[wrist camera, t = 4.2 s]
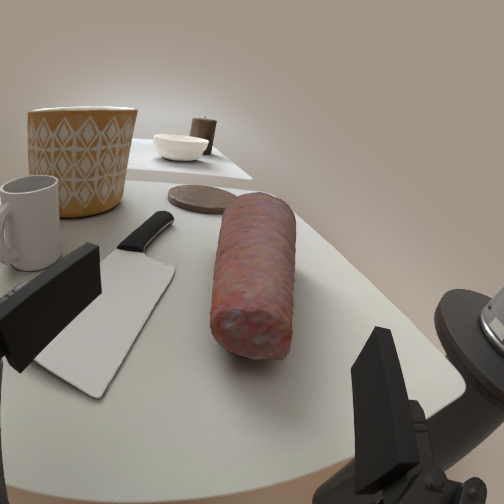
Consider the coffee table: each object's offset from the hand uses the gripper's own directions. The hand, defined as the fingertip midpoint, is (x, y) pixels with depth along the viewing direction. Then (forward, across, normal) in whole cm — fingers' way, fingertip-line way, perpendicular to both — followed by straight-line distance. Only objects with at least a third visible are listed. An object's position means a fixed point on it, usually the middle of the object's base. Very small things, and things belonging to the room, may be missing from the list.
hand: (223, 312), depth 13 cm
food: (+16, -1, -10) cm, 19 cm away
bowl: (+79, -37, -10) cm, 88 cm away
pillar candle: (+102, -38, -10) cm, 109 cm away
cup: (+8, -25, -10) cm, 28 cm away
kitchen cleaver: (+14, -13, -10) cm, 21 cm away
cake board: (+43, -15, -10) cm, 46 cm away
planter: (+27, -34, -10) cm, 45 cm away
